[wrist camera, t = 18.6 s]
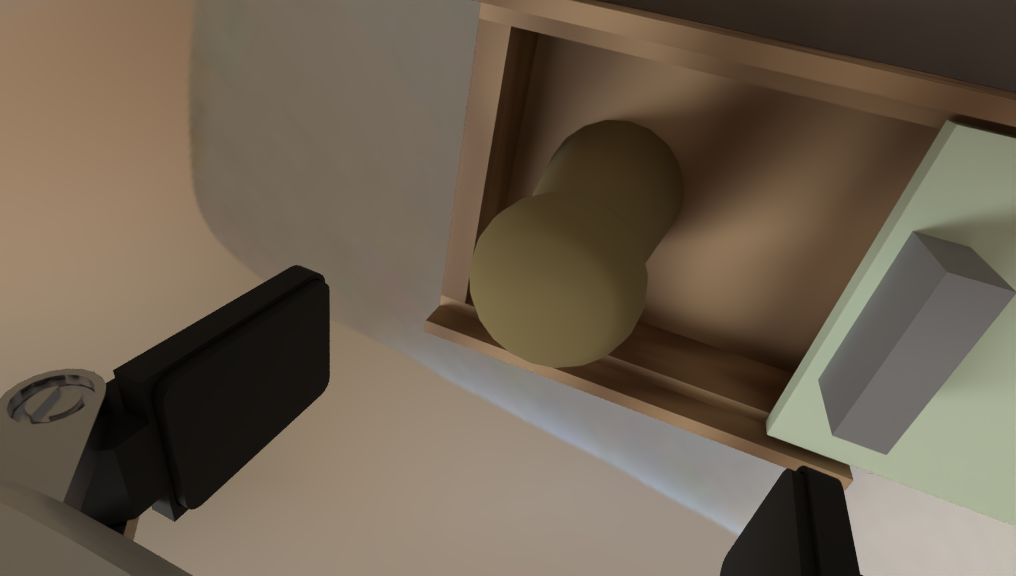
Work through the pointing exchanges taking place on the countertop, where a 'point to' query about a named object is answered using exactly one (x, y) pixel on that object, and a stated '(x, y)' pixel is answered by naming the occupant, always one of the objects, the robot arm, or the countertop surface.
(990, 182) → the lid
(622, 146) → the cork
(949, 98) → the wooden drawer box
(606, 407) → the countertop surface
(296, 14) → the countertop surface
